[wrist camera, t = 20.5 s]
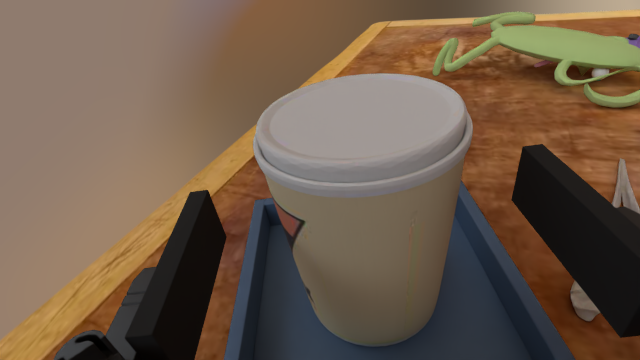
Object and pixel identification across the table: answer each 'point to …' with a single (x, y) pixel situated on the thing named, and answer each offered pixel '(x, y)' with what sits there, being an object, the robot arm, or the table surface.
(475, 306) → the dish tray
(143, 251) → the table surface
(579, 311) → the tweezers
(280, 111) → the coffee cup
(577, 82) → the figurine
